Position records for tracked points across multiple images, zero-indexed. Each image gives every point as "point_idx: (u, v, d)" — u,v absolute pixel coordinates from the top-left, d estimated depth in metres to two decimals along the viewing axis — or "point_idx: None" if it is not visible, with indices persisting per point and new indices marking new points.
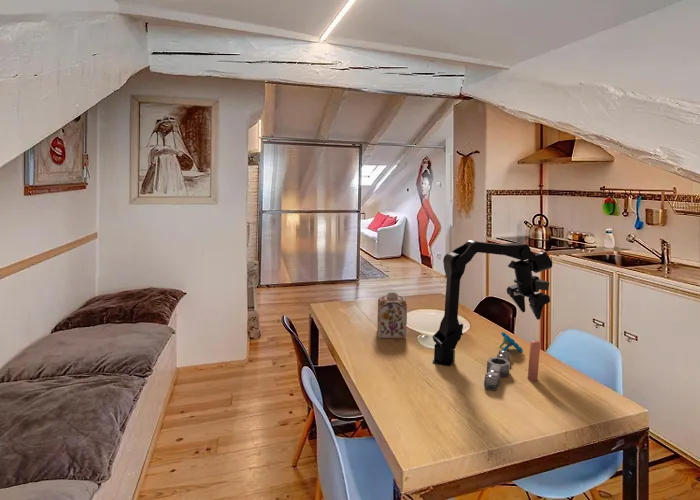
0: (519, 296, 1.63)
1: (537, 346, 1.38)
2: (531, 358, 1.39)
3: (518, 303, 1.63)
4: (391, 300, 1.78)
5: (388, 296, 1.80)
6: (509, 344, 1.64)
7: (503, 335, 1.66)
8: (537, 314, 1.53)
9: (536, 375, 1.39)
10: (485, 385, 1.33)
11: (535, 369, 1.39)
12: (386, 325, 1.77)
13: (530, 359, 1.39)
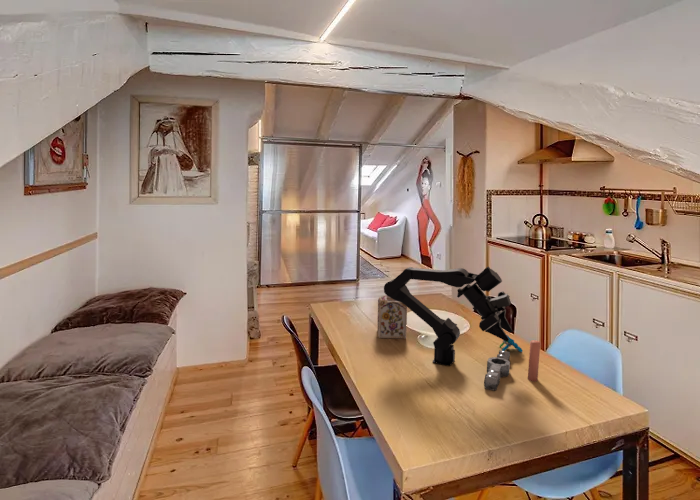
0: (498, 317, 1.49)
1: (536, 346, 1.38)
2: (531, 358, 1.39)
3: (500, 325, 1.49)
4: (391, 300, 1.78)
5: (388, 296, 1.80)
6: (509, 344, 1.64)
7: None
8: (500, 336, 1.39)
9: (536, 375, 1.39)
10: (485, 385, 1.33)
11: (535, 370, 1.39)
12: (386, 325, 1.77)
13: (530, 359, 1.39)
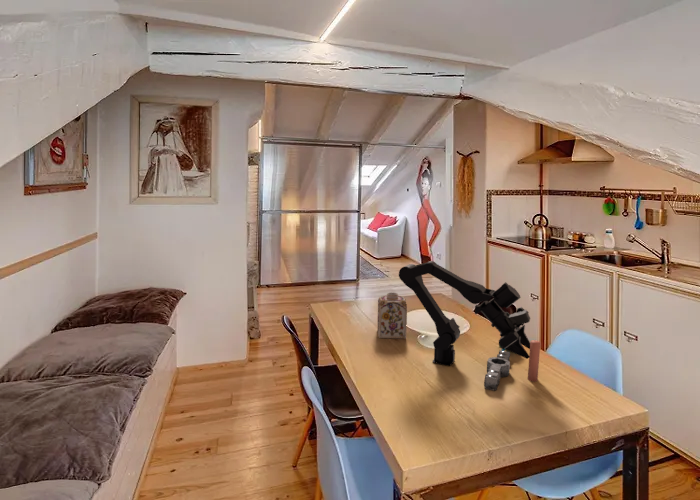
0: (517, 333, 1.46)
1: (537, 346, 1.38)
2: (531, 358, 1.39)
3: (519, 341, 1.46)
4: (391, 300, 1.78)
5: (388, 296, 1.80)
6: None
7: None
8: (521, 353, 1.36)
9: (536, 375, 1.39)
10: (485, 385, 1.33)
11: (535, 370, 1.39)
12: (386, 325, 1.77)
13: (530, 359, 1.39)
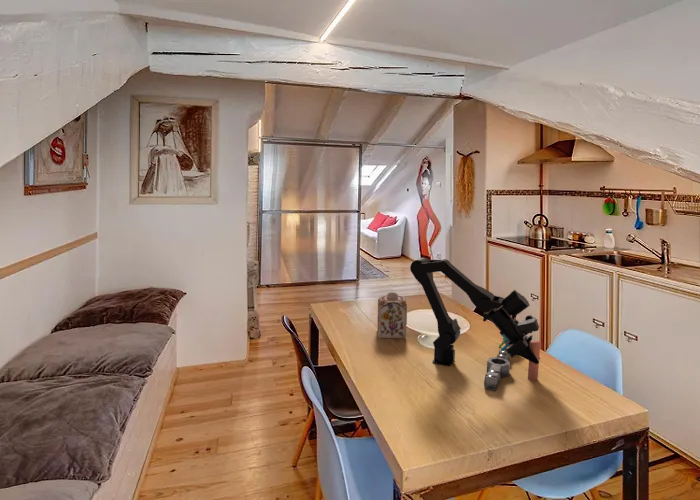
0: None
1: (537, 346, 1.38)
2: None
3: None
4: (391, 300, 1.78)
5: (388, 296, 1.80)
6: (508, 344, 1.64)
7: (502, 335, 1.66)
8: (530, 359, 1.38)
9: (536, 375, 1.39)
10: (485, 385, 1.33)
11: (535, 369, 1.39)
12: (386, 325, 1.77)
13: None
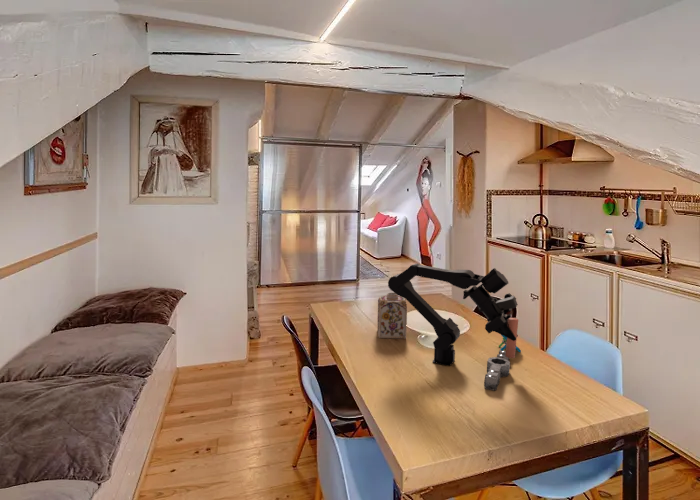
0: None
1: (514, 323, 1.40)
2: None
3: None
4: (391, 300, 1.78)
5: (388, 296, 1.80)
6: None
7: None
8: (508, 336, 1.40)
9: (513, 352, 1.42)
10: (485, 385, 1.33)
11: (512, 346, 1.41)
12: (386, 325, 1.77)
13: None
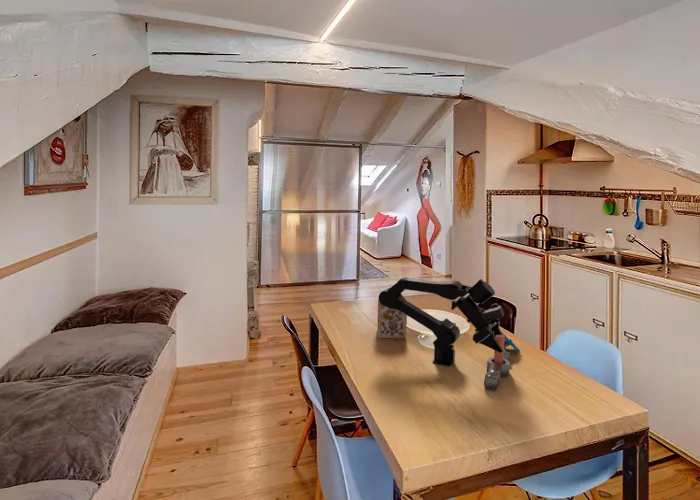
0: (492, 329, 1.50)
1: (501, 340, 1.43)
2: (496, 352, 1.44)
3: (494, 337, 1.49)
4: None
5: None
6: (506, 344, 1.64)
7: None
8: (494, 348, 1.40)
9: None
10: (485, 385, 1.33)
11: (499, 363, 1.44)
12: (386, 325, 1.77)
13: (495, 353, 1.45)
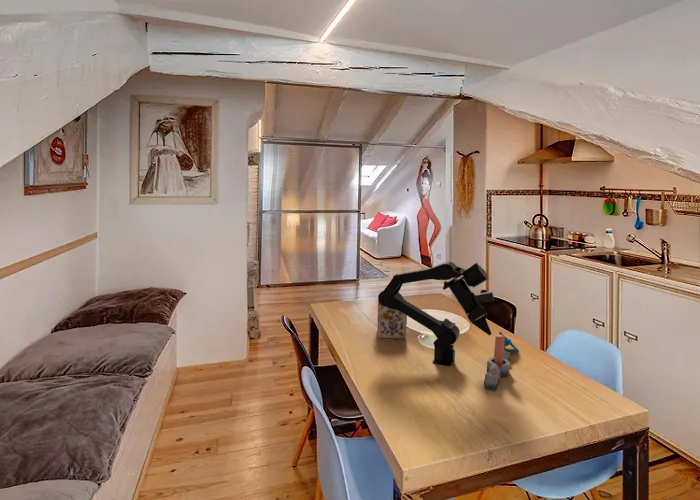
0: None
1: (501, 340, 1.43)
2: (496, 352, 1.44)
3: None
4: None
5: None
6: (505, 344, 1.64)
7: None
8: (484, 329, 1.41)
9: None
10: (485, 385, 1.33)
11: (499, 363, 1.44)
12: (386, 325, 1.77)
13: (495, 353, 1.45)
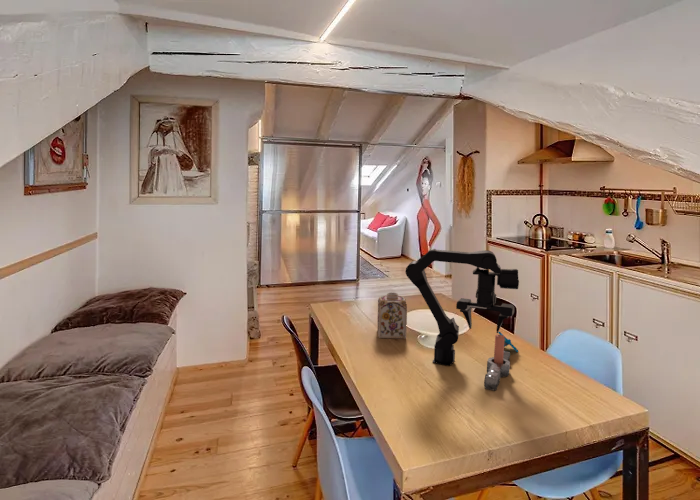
0: (469, 310, 1.51)
1: (501, 340, 1.43)
2: (496, 352, 1.44)
3: (469, 318, 1.50)
4: (391, 300, 1.78)
5: (388, 296, 1.80)
6: (505, 344, 1.64)
7: None
8: None
9: None
10: (485, 385, 1.33)
11: (499, 363, 1.44)
12: (386, 325, 1.77)
13: (495, 353, 1.45)
